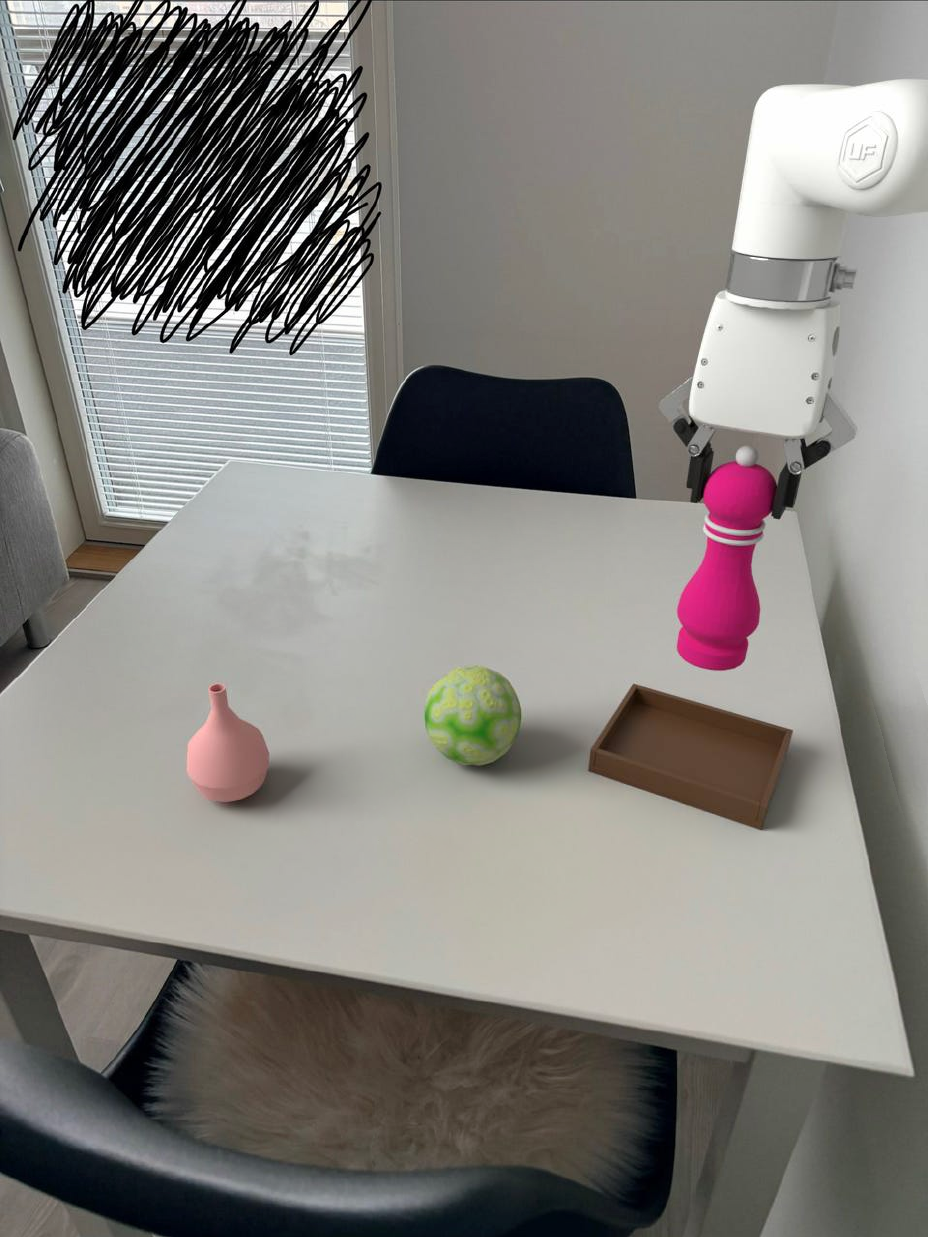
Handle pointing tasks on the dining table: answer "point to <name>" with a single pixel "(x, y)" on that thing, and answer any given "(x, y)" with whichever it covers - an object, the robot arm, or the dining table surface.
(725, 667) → the pepper mill
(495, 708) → the decorative ball
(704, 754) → the tray
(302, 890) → the dining table surface
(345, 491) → the dining table surface
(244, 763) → the pink bulb vase
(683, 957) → the dining table surface
